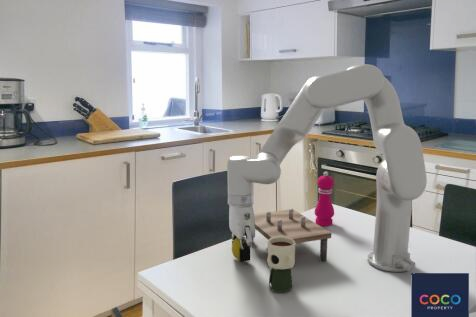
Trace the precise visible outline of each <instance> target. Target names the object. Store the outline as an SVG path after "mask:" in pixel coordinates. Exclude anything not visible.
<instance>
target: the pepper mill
mask: <svg viewBox="0 0 476 317" xmlns="http://www.w3.org/2000/svg"><path fill="white" fill-rule="evenodd" d="M316 184H317V186H318V194H319V198H318V202H317V203H316V205H315V208H314V215H315V222H314V223H316V224H317V225H319V226H321V227H330V226H332V225H333V222H334V220H333V217H334V216H335V208H334V206H333V204H332V198H331V196H332V193H333V187H334V186H335V180H334V178H333V177H332V176H330V175H329V172H328V171H324V172H323V175H321V176H319V177H318V178H317V182H316Z"/></svg>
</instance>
